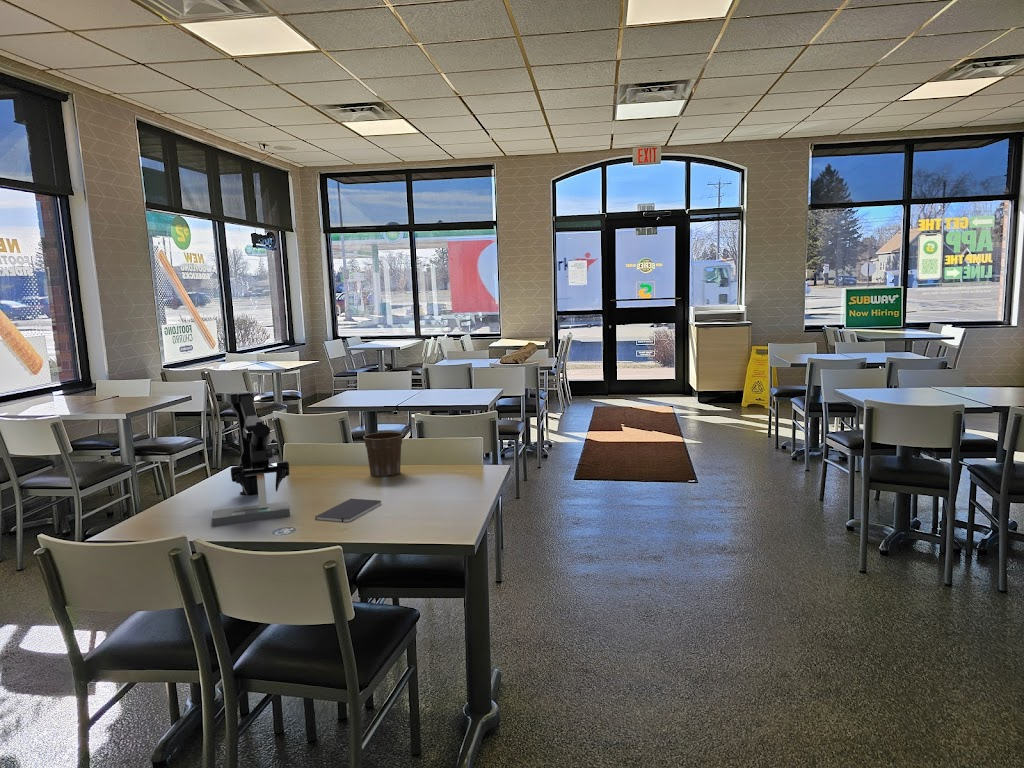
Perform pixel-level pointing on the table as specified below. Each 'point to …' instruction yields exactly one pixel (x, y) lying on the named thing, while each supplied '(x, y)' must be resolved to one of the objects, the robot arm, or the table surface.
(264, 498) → the slide lever
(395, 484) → the table surface
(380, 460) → the plant pot
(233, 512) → the switch housing
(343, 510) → the notebook
